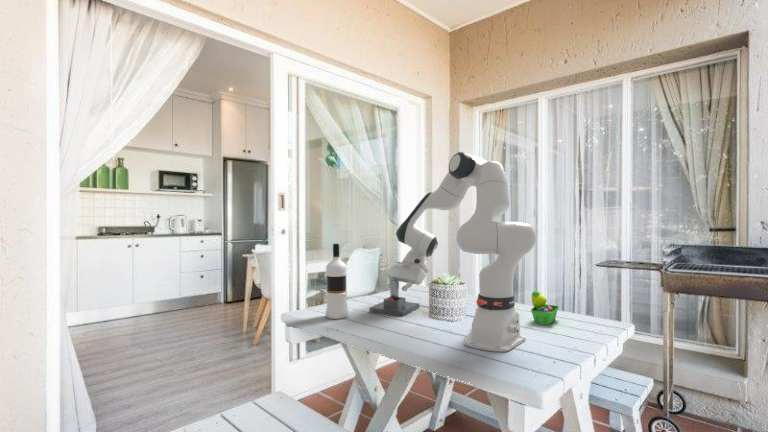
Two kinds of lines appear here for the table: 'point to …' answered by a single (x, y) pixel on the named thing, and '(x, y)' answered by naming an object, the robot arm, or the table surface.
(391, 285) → the column
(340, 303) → the vodka
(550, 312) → the fruit basket
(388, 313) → the stand base
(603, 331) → the table surface
